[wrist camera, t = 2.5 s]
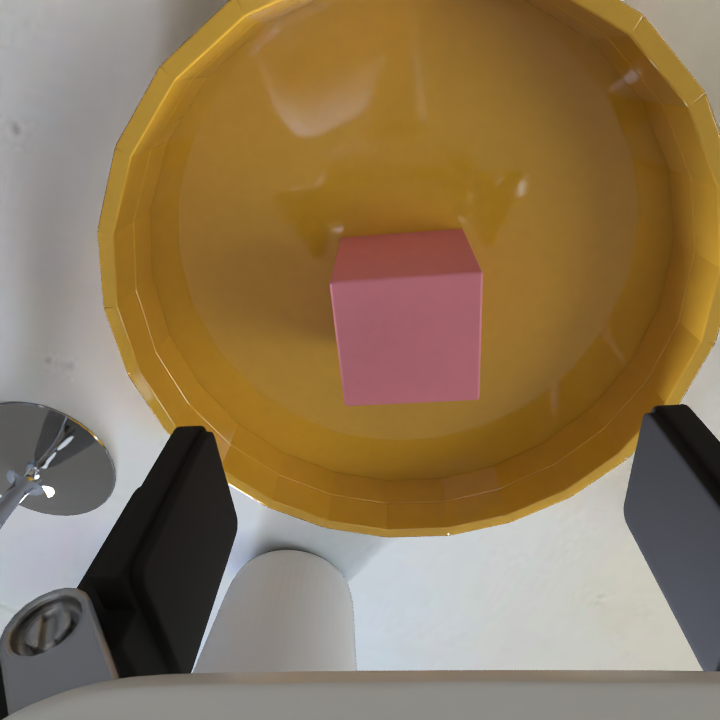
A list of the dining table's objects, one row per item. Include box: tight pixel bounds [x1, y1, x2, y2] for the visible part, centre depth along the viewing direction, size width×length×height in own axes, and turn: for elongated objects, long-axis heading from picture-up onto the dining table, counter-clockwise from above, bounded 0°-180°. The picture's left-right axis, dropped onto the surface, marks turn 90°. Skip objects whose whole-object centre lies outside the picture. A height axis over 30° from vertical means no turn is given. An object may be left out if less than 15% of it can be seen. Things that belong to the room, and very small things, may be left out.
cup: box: [193, 550, 357, 673], centre depth 26 cm, size 11×8×8 cm
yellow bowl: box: [98, 0, 720, 537], centre depth 19 cm, size 20×20×4 cm
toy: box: [330, 229, 483, 406], centre depth 18 cm, size 4×4×4 cm
